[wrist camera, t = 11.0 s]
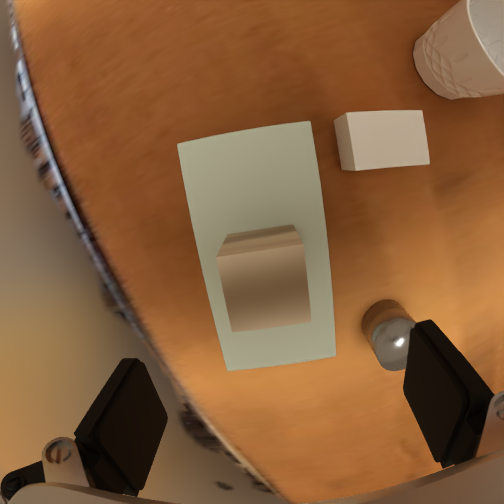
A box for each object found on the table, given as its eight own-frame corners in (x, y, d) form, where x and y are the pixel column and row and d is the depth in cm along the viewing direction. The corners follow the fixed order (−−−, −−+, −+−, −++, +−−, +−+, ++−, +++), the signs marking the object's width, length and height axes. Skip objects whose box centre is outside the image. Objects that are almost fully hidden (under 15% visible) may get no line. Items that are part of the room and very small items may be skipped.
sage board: (181, 145, 23) (176, 143, 22) (307, 123, 22) (310, 120, 21) (228, 363, 28) (227, 371, 27) (333, 349, 27) (336, 356, 26)
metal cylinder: (361, 304, 26) (379, 332, 21) (404, 295, 26) (428, 320, 21) (361, 344, 27) (376, 376, 22) (402, 335, 27) (423, 363, 22)
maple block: (227, 234, 23) (215, 257, 18) (293, 224, 23) (303, 243, 17) (238, 294, 25) (232, 332, 19) (300, 285, 24) (311, 321, 19)
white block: (333, 120, 22) (346, 112, 18) (399, 116, 22) (421, 110, 18) (341, 169, 23) (355, 170, 19) (406, 163, 23) (429, 164, 19)
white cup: (479, 110, 20) (552, 100, 11) (415, 102, 21) (486, 79, 11) (463, 37, 18) (524, 7, 9) (398, 23, 19) (451, -26, 9)
